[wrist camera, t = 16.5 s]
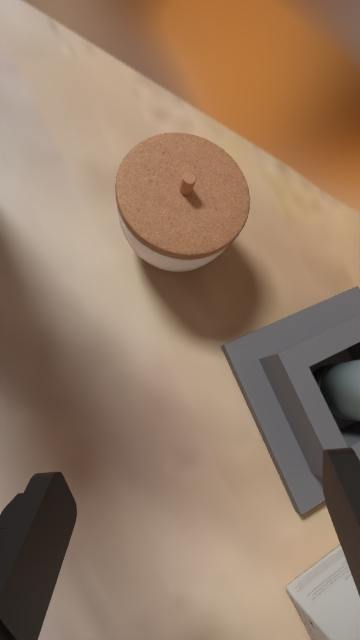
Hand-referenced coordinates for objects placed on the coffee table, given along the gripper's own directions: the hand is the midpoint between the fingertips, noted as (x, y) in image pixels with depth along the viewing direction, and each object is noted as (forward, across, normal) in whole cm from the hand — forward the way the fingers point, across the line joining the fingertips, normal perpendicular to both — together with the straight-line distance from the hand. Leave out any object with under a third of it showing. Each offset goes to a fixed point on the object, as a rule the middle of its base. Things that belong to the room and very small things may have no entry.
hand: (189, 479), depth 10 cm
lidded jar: (+27, +2, -2) cm, 27 cm away
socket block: (+20, -11, +14) cm, 27 cm away
